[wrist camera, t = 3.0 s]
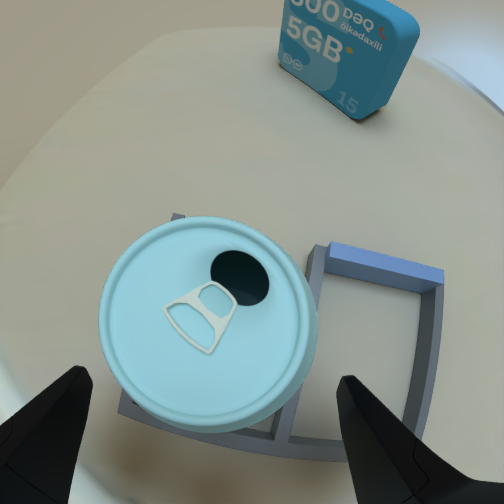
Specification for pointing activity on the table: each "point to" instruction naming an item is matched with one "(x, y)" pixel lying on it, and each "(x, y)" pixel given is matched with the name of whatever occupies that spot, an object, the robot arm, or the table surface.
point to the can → (208, 324)
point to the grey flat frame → (279, 441)
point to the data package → (347, 49)
